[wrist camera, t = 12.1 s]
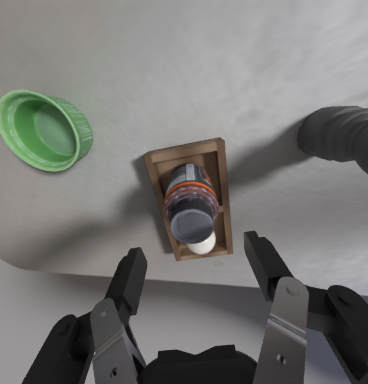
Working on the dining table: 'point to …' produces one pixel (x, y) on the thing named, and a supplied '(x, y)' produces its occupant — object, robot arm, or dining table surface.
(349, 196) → the dining table surface
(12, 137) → the ramekin
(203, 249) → the egg
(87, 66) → the dining table surface
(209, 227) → the supplement bottle
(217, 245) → the holder
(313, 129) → the grey turned candlestick
